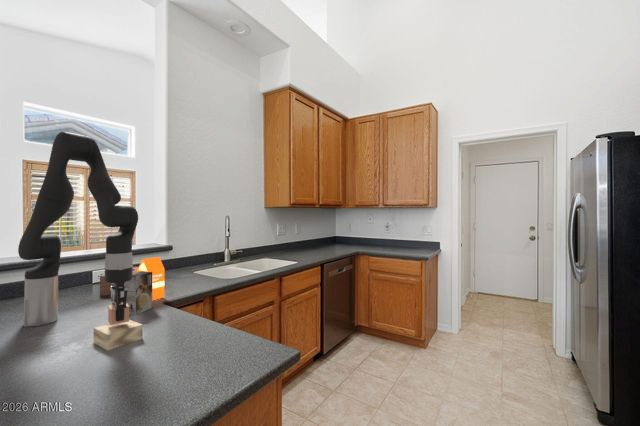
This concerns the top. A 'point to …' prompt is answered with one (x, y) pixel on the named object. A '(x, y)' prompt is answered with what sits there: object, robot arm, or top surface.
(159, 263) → the orange juice
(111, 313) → the terracotta cube
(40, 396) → the top surface
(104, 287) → the tissue box cover
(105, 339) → the birch block
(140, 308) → the coffee box
